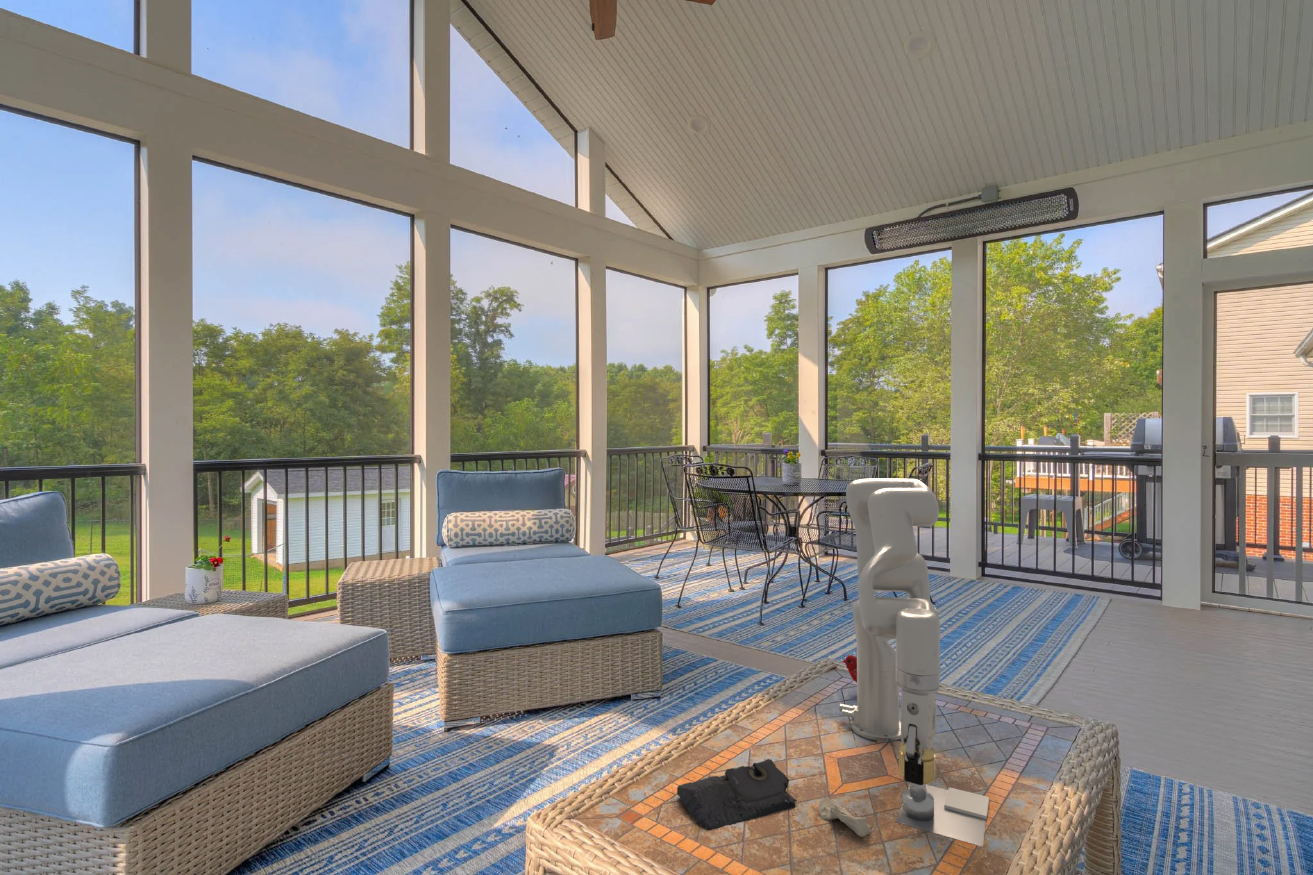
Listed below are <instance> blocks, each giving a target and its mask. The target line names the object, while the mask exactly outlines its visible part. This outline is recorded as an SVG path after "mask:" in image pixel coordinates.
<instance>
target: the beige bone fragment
mask: <svg viewBox="0 0 1313 875" xmlns="http://www.w3.org/2000/svg"><path fill="white" fill-rule="evenodd" d="M818 803H819V804H818V812H819V814H820V818H821V819H822V820H826V821H832V820H837V819H839V820H840V822H843V823H844V824H845V825H846V826H847V827H848V828H849V829H850V830H852V831H854V833H855V834H856V835H857V836H858V837H861V838H864V837H865V836H867V835H869V834H871V833H872V827H871V825H869V824H868V823H867V818H866V817H865V816H863V817H862V816H856V817H855V816H853V815H852V814H851V813H850V810H849V811H848V810H847V808H846V809H845V808H844V807H843V806H840V805H839V804H837V803H836V802H835V801H833V800H832V799H831V798H828V797H826V796H823V797H822V798H820V799H819V801H818Z"/></svg>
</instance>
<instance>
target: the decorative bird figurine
mask: <svg viewBox="0 0 1313 875" xmlns="http://www.w3.org/2000/svg"><path fill="white" fill-rule="evenodd" d="M841 663H844V664H845V667H846V668H847V670H848V673H849V675H850V677H851V679H852V680H853V681H854V682H855V683H856V684H857V656H855V655H852V654H849V655H847V656H846V657H845V659H844V660H842V661H841Z"/></svg>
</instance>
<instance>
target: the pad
mask: <svg viewBox="0 0 1313 875" xmlns="http://www.w3.org/2000/svg"><path fill="white" fill-rule="evenodd" d="M947 790H948V793H947V797H946V801H945V805H944V808H946V809H950V810H954V811H957V812H961V813H965V814H969V815H972V816H976V817H980V818H984V819H986V820H987V818H988V813H989V803H990V797H989V796H985V795H983V794H982V795H981V794H979V793H973V792H970V791H967V790H961V789H957V788H953V787H950V786H948V789H947Z"/></svg>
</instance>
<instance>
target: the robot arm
mask: <svg viewBox="0 0 1313 875" xmlns="http://www.w3.org/2000/svg"><path fill="white" fill-rule="evenodd" d="M845 491H846V492H845V496H846V497H845V498H846V505H847V510H848V514H849V516H850V518H851V521H852V523H853V526H854V531H855V535H856V537H855V538H856V561H857V562H856V564H857V576H858V585H857V587H858V588H857V591H858V600H857V601H856V602H855V603H854V604H853V606H852V619H853V624H854V625H853V627H854V631H855V639H856V657H857V683H856V705H855V704H854V705H849V704H843V703H840V704H839V712H841V715H842V716H843V717H849V718H851V720H850V728H851V730H852V731H853V732H854V733H856V734H857V735H858V736H860V737H863V738H865V739H868V740H872V741H878V740H879V739H888V740H892V741H899V740H901V742H903V744H906V749H905V759H904V778H903V780H904V781H905V782H907V783H909V784H910V783H914V784H918V785H923V783H924V763H923V762H922V751H923V748H926V750H928V749H930V748H931V746H932V745H933V742H934V741H935V740H934V739H935V737H936V732H937V710H936V709H937V708H936V705H937V704H936V693H937V692H939V691H940V689H941V688H940V687H941V686H940V682H941V681H940V680H941V678H940V675H941V671H940V667H941V666H940V665H941V664H940V663H941V662H940V660H941V654H940V653H941V620H940V618H939V611H938V609H937V608H936V607H935V605H934V604H933V603H932V602H931V594H930V593H931V591H930V577H929V568H928V565H927V562H926V560H925V558H924V557H923V556H922V554H920V553H918V546H917V542H916V536H915V532H914V527H926V528H927V527H932V526H935V525H936V523H937V522H938V519H939V515H940V508H939V504H938V499H937V498H936V495H935V493H934V492H933V491H932V489H931V488H930V487H929V486H928V485H927V484H925V483H924V482H923V481H922V480H919V479H917V478H882V477H881V478H878V477H877V478H876V477H872V478H859V479H854V480H853V481H851V482H849V484H847V486H846V490H845ZM874 591H875V592H876V591H877V592H895V593H896V592H898V593H899V592H900V593H901V592H902V593H905V594H907V597H899V596H898V597H894V596H893V597H891V596H875V592H874ZM888 640H895V648H894V647H893V646H892V645H891V644H890V643H889V642H888ZM900 689H901V696H900ZM900 697H901V699H900ZM916 741H919V742H920V745H918V744H916ZM915 748H918V749H919V751H918V754H917V752H915Z"/></svg>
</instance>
